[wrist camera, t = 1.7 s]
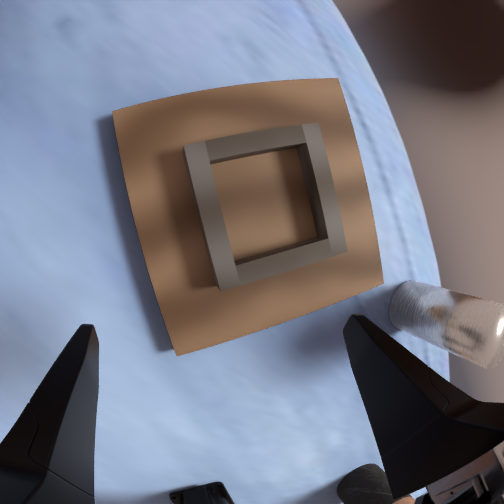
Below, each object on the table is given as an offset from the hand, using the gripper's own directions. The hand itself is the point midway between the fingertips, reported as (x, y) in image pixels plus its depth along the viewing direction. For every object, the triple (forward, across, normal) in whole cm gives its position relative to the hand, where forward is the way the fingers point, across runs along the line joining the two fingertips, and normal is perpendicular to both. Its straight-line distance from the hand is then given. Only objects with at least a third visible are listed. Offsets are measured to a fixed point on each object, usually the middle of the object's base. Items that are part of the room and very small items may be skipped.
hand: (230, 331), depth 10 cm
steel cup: (+11, -23, +12) cm, 28 cm away
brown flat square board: (+16, -5, +4) cm, 17 cm away
